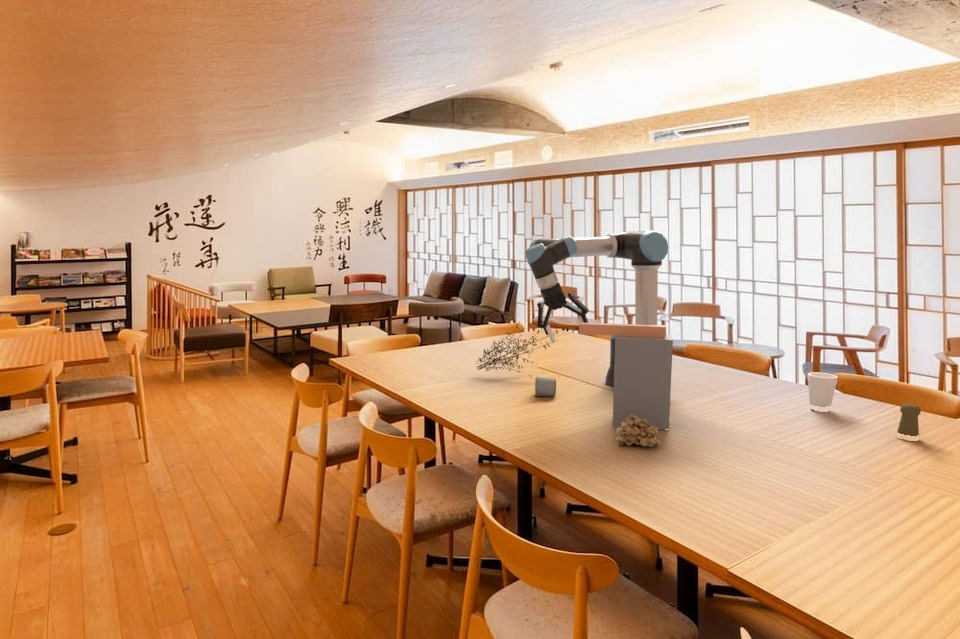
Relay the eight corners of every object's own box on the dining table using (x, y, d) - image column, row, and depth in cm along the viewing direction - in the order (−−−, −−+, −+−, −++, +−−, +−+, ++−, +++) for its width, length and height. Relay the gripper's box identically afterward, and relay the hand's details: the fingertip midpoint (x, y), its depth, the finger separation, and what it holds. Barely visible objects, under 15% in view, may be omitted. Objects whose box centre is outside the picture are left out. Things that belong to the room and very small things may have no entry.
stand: (612, 426, 204) (615, 337, 200) (613, 416, 215) (616, 332, 211) (668, 430, 200) (672, 340, 195) (666, 419, 211) (670, 334, 207)
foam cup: (831, 407, 225) (834, 373, 223) (837, 414, 216) (840, 379, 215) (803, 405, 228) (805, 371, 226) (807, 412, 220) (810, 377, 218)
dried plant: (455, 341, 263) (551, 301, 252) (474, 336, 293) (561, 299, 282) (482, 407, 261) (580, 369, 250) (498, 395, 291) (586, 360, 280)
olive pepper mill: (896, 434, 196) (899, 400, 194) (919, 437, 192) (922, 403, 191) (895, 439, 191) (899, 405, 189) (919, 443, 188) (923, 408, 186)
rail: (579, 334, 206) (579, 324, 206) (580, 332, 210) (580, 322, 209) (665, 337, 200) (665, 327, 199) (664, 335, 203) (665, 325, 203)
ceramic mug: (556, 398, 238) (556, 379, 237) (535, 398, 239) (535, 378, 238) (554, 391, 249) (554, 373, 248) (534, 391, 249) (534, 373, 248)
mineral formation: (612, 447, 184) (616, 429, 198) (657, 459, 180) (658, 439, 194) (617, 423, 182) (621, 406, 196) (663, 434, 178) (664, 416, 192)
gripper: (516, 298, 226) (537, 349, 230) (578, 278, 214) (599, 332, 219) (522, 292, 232) (543, 341, 237) (582, 272, 221) (603, 324, 225)
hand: (570, 337), depth 228 cm, fingers open, 13 cm apart
